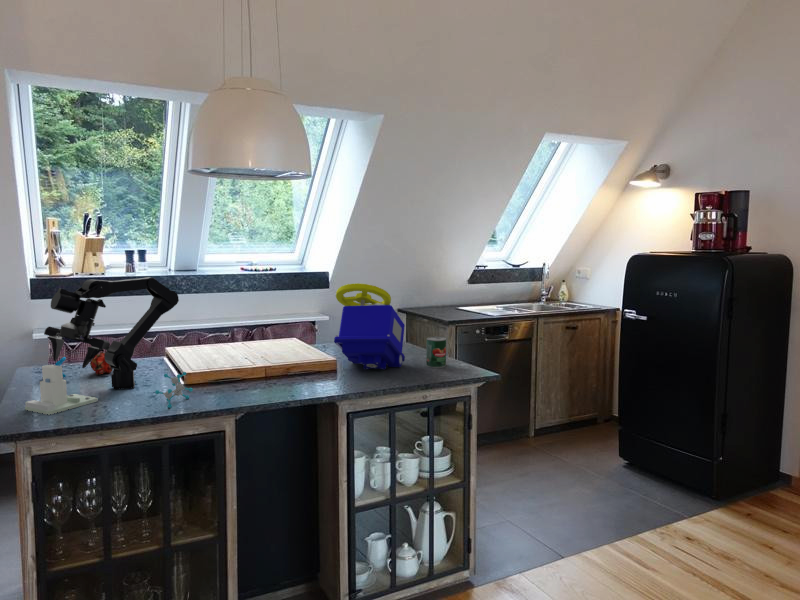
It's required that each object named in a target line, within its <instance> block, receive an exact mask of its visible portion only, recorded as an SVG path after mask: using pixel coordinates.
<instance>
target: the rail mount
mask: <svg viewBox="0 0 800 600" xmlns="http://www.w3.org/2000/svg"><path fill="white" fill-rule="evenodd" d="M98 401H99V400H98V397H94V396H88V395H83V394H77V393H73V394H72V393H71V394H69V395H68V394H67V403H64V404H61V405H57V406H55V404H51V403H46V402H41V400H34V399H32V400H28V401H25V402H24V403H25V407H24V410H25V411H27V410H28V412H32V411H33V412H32V413H37V412H38V414H42V413H43V415H47V414H48V416H51V415H54V413H55V414H57V412H58V413H61V411H62V412H65V411H68V409H69V410H71V409H75V408H79V407H83V406H85V405H89V404H92V403H95V402H96V403H97V402H98ZM50 414H51V415H50Z"/></svg>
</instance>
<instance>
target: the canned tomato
mask: <svg viewBox="0 0 800 600" xmlns="http://www.w3.org/2000/svg"><path fill="white" fill-rule="evenodd" d="M425 348H426V358H425V359H426V360H425V362H426V364H425V366H426V367H428V368H432V369H434V368H435V369H441V368H445V367H446V366H447V365H446V364H447V338H446V337H442V336H428V337H427V338H426V347H425Z"/></svg>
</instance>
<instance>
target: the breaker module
mask: <svg viewBox="0 0 800 600" xmlns="http://www.w3.org/2000/svg"><path fill="white" fill-rule="evenodd" d="M41 370H42V377H43V378H42V380H41V381H39V387H40V389H39V391H40V401H41V402H46V403H51V404H55V406H57V405H61V404H64V403H67V395H68V391H67V389H68V388H67V380H66V379H64V377H63V373H64V372H63V366H61V365H60V366H56V365H55V364H46V365H42V366H41Z"/></svg>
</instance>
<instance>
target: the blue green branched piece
mask: <svg viewBox="0 0 800 600" xmlns="http://www.w3.org/2000/svg"><path fill="white" fill-rule="evenodd" d="M66 360H67V357H65V356H63V357H61V358H60V359H59V360H56V361H55V364H54V365H56V366H61V365H62V364H63V363H64V362H65V361H66ZM64 377H65V378H66V377H67V374H65V373H64V372H63V378H64ZM42 379H43V376H42Z"/></svg>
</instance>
